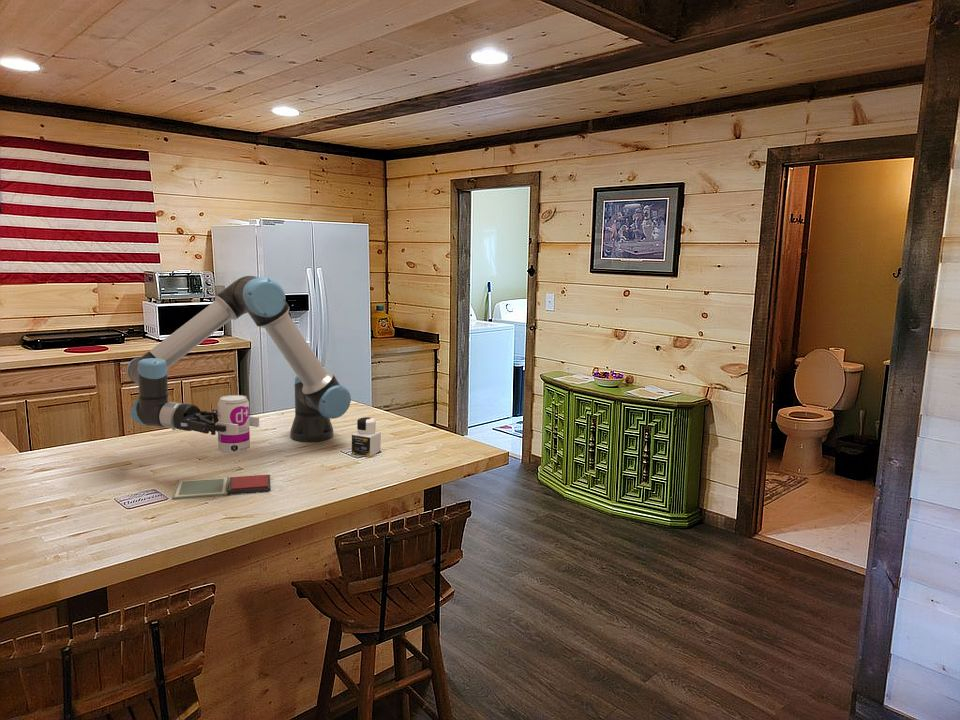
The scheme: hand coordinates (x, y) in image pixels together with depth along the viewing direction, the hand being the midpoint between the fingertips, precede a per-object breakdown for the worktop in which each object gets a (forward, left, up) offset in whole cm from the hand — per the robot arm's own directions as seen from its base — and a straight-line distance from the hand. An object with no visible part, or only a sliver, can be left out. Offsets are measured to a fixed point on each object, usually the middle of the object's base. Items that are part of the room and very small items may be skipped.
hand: (248, 425), depth 181 cm
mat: (+13, -4, -18) cm, 23 cm away
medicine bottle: (-37, -27, -19) cm, 49 cm away
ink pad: (0, -3, -18) cm, 19 cm away
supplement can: (+4, -3, -8) cm, 9 cm away
